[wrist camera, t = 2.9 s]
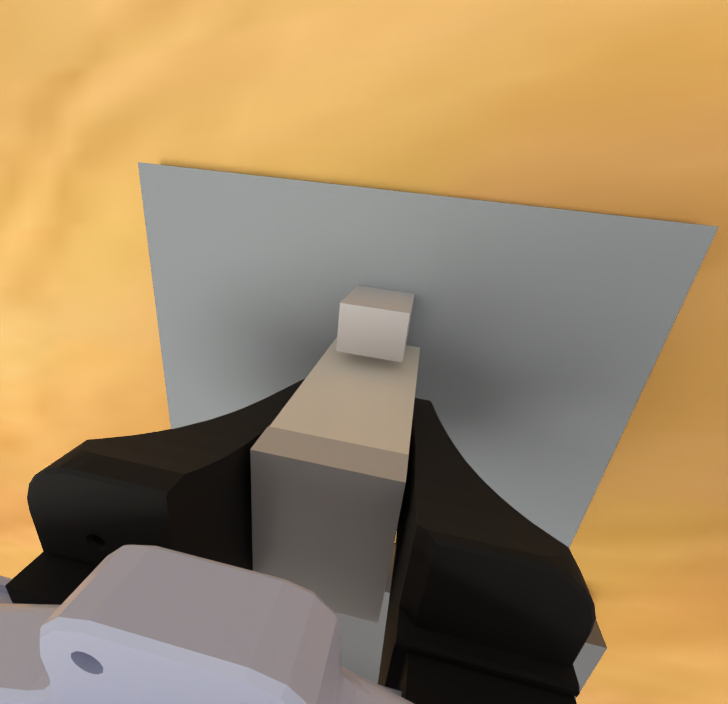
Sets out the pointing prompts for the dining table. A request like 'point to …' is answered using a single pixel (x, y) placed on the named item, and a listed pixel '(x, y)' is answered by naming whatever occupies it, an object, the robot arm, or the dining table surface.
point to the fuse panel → (422, 313)
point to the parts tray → (368, 636)
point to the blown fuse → (336, 479)
